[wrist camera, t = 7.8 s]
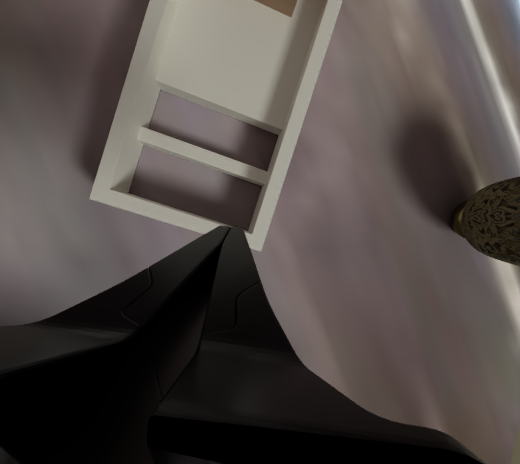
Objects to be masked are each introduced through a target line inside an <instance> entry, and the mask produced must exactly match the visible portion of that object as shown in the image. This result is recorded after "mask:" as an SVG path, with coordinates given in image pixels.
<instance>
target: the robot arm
mask: <svg viewBox="0 0 520 464" xmlns="http://www.w3.org/2000/svg"><path fill="white" fill-rule="evenodd" d="M0 464H485V463H484V462H483V461H482V460H481V459H480V458H478V457H477V456H476V455H475V454H474V453H473V452H471V451H470V450H469V449H467V448H466V447H465V446H464V445H462V444H461V443H460V442H459V441H457V440H456V439H454V438H453V437H451V436H450V435H448V434H446V433H443V432H441V431H438V430H435V429H431V428H426V427H421V426H415V425H408V424H403V423H398V422H394V421H390V420H388V419H385V418H382V417H379V416H377V415H375V414H373V413H371V412H369V411H367V410H365V409H364V408H362V407H360V406H359V405H357V404H356V403H355V402H353V401H352V400H350V399H349V398H348V397H346V396H345V395H343V394H342V393H341V392H339V391H338V390H337V389H335V388H334V387H332V386H331V385H330V384H328V383H327V382H326V381H324V380H323V379H321V378H320V377H319V376H317V375H316V374H314V373H313V372H312V371H310V370H309V369H308V368H307V367H306V366H305V365H304V364H303V363H302V362H301V361H300V359H299V358H298V356H297V355H296V353H295V351H294V349H293V348H292V346H291V344H290V342H289V340H288V338H287V337H286V335H285V333H284V331H283V329H282V327H281V326H280V324H279V322H278V320H277V318H276V316H275V314H274V312H273V310H272V308H271V306H270V304H269V302H268V299H267V297H266V294H265V292H264V289H263V286H262V283H261V280H260V277H259V274H258V271H257V268H256V265H255V262H254V259H253V256H252V253H251V250H250V247H249V244H248V241H247V238H246V235H245V232H244V229H243V228H238V227H232V228H231V227H229V226H218V227H216V228H215V229H213V230H211V231H209V232H208V233H206V234H204V235H203V236H201V237H199V238H198V239H196V240H194V241H192V242H191V243H189V244H187V245H186V246H184V247H182V248H180V249H179V250H177V251H175V252H174V253H172V254H170V255H168V256H167V257H165V258H163V259H162V260H160V261H158V262H157V263H155V264H153V265H151V266H150V267H149V268H146V269H144V270H143V271H141V272H139V273H138V274H136V275H134V276H132V277H130V278H129V279H127V280H125V281H123V282H121V283H119V284H117V285H115V286H113V287H112V288H110V289H108V290H106V291H104V292H102V293H100V294H97V295H95V296H93V297H91V298H89V299H87V300H85V301H83V302H81V303H79V304H77V305H75V306H73V307H71V308H69V309H66V310H64V311H62V312H60V313H58V314H56V315H54V316H52V317H49V318H47V319H44V320H41V321H37V322H34V323H29V324H24V325H17V326H4V327H0Z"/></svg>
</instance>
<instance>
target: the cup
mask: <svg viewBox="0 0 520 464" xmlns="http://www.w3.org/2000/svg"><path fill="white" fill-rule="evenodd" d="M451 224H452V227H453V229H454V231H455V232H456V233H457V234H458V235H460V236H461V237H463V238H466V240H467V241H468V242H469V243H470V245H471V246H473V247H474V248H475V249H476V250H478V251H479V252H481V253H483V254H485V255H487V256H489V257H492V258H495V259H498V260H501V261H504V262H507V263H510V264H514V265H517V266H520V177H516V178H512V179H508V180H504V181H500V182H497V183H494V184H492V185H489V186H487V187H485V188H483V189H481V190H479V191H478V192H477V193H475V194H474V195H473V196H472V197H471V198H470V199H469V200H467V201H465V202H463V203H461V204H459V205H458V206H457V207H456V208H455V209H454V211H453V213H452V217H451Z"/></svg>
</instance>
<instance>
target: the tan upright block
mask: <svg viewBox="0 0 520 464" xmlns="http://www.w3.org/2000/svg"><path fill="white" fill-rule="evenodd" d="M254 1H256V2H259V3H261V4H263V5H265V6H267V7H269V8H272V9H274V10H276V11H278V12H280V13H282V14H284V15H287V16H289V17H292V15H293V12H294V9H295V6H296V3H297V0H254Z"/></svg>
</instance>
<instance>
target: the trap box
mask: <svg viewBox="0 0 520 464" xmlns="http://www.w3.org/2000/svg"><path fill="white" fill-rule="evenodd" d="M342 1H343V0H297V3H296V6H295V9H294V12H293V15H292V17H289V16H287V15H284V14H282V13H280V12H278V11H276V10H274V9H272V8H269V7H267V6H265V5H263V4H261V3H259V2H256V1H254V0H150V1H149V4H148V8H147V11H146V14H145V18H144V21H143V24H142V27H141V31H140V34H139V37H138V41H137V44H136V47H135V50H134V54H133V57H132V60H131V64H130V67H129V70H128V73H127V77H126V80H125V83H124V87H123V90H122V93H121V96H120V100H119V103H118V106H117V110H116V113H115V116H114V119H113V123H112V126H111V129H110V133H109V136H108V139H107V142H106V146H105V149H104V152H103V156H102V159H101V162H100V165H99V169H98V172H97V175H96V179H95V182H94V185H93V188H92V192H91V195H90V198H89V199H92V200H95V201H98V202H101V203H105V204H108V205H111V206H114V207H118V208H121V209H124V210H127V211H131V212H134V213H137V214H140V215H144V216H147V217H150V218H153V219H157V220H160V221H163V222H166V223H170V224H173V225H176V226H179V227H182V228H186V229H189V230H192V231H195V232H199V233H202V234H206V233H208V232H209V231H211V230H213V229H215V228H216V227H218V226H229V227H231V228H232V227H233V226H230V225H227V224H224V223H221V222H218V221H215V220H211V219H208V218H205V217H202V216H199V215H196V214H193V213H189V212H186V211H183V210H180V209H177V208H174V207H171V206H167V205H164V204H161V203H158V202H155V201H152V200H149V199H145V198H142V197H139V196H136V195H133V194H130V193H129V189H130V186H131V183H132V180H133V176H134V173H135V170H136V167H137V163H138V160H139V157H140V154H141V150H142V147H143V145H146V146H148V147H151V148H154V149H157V150H160V151H163V152H166V153H168V154H171V155H174V156H177V157H180V158H183V159H186V160H188V161H191V162H194V163H197V164H200V165H203V166H206V167H209V168H211V169H214V170H217V171H220V172H223V173H226V174H229V175H231V176H234V177H237V178H240V179H243V180H246V181H249V182H252V183H254V184H257V185H260V186H262V189H261V192H260V195H259V198H258V201H257V204H256V207H255V210H254V213H253V216H252V219H251V223H250V226H249V229H248V231H246V230H244V232H245V235H246V238H247V241H248V244H249V247H250V248H251V249H254V250H257V251H260V252H261V250H262V247H263V244H264V241H265V238H266V235H267V232H268V229H269V225H270V222H271V219H272V216H273V213H274V210H275V207H276V204H277V201H278V198H279V195H280V192H281V189H282V186H283V182H284V179H285V176H286V173H287V170H288V167H289V164H290V161H291V158H292V155H293V152H294V149H295V146H296V143H297V139H298V136H299V133H300V130H301V127H302V124H303V121H304V118H305V115H306V112H307V109H308V106H309V103H310V100H311V96H312V93H313V90H314V87H315V84H316V81H317V78H318V75H319V72H320V69H321V66H322V63H323V60H324V57H325V53H326V50H327V47H328V44H329V41H330V38H331V35H332V32H333V29H334V26H335V23H336V20H337V17H338V14H339V10H340V7H341V4H342ZM160 90H162V91H165V92H168V93H170V94H173V95H175V96H178V97H181V98H183V99H186V100H188V101H191V102H194V103H196V104H199V105H201V106H204V107H207V108H209V109H212V110H214V111H217V112H220V113H222V114H225V115H227V116H230V117H233V118H235V119H238V120H240V121H243V122H246V123H248V124H251V125H253V126H256V127H259V128H261V129H264V130H266V131H269V132H272V133H274V134H277V135H279V136H278V139H277V142H276V145H275V148H274V151H273V155H272V158H271V161H270V164H269V167H268V170H267V171H264V170H261V169H258V168H256V167H253V166H250V165H247V164H244V163H242V162H239V161H236V160H233V159H231V158H228V157H225V156H222V155H219V154H217V153H214V152H211V151H208V150H205V149H203V148H200V147H197V146H194V145H192V144H189V143H186V142H183V141H180V140H178V139H175V138H172V137H169V136H166V135H164V134H161V133H158V132H155V131H153V130H150V129H148V128H149V124H150V121H151V118H152V115H153V112H154V108H155V105H156V102H157V99H158V95H159V92H160Z"/></svg>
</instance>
